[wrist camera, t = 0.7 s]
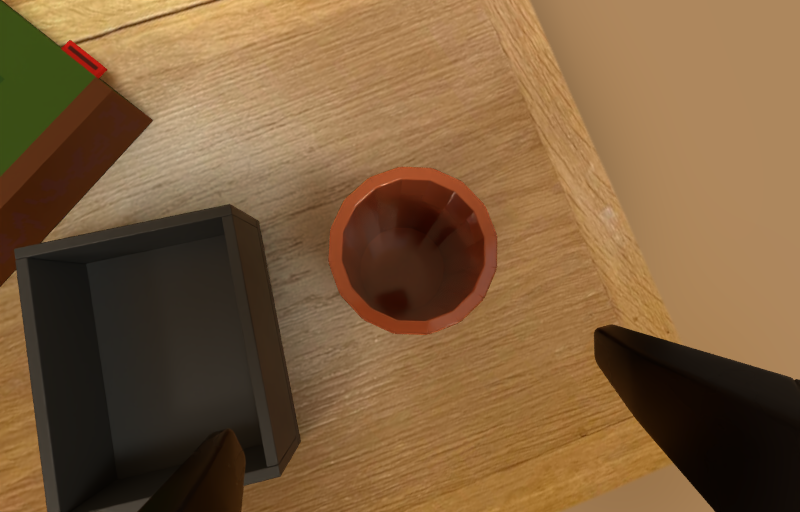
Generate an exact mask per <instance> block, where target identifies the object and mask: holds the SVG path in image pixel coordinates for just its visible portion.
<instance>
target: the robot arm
mask: <svg viewBox="0 0 800 512" xmlns="http://www.w3.org/2000/svg"><path fill="white" fill-rule="evenodd" d="M594 354H595V360H596V362H597V364H598V366H599V367H600V369H601V370H602V372H603V373H604V375H605V376H606V377H607V379H608V380H609V382H610V383H611V385H612V386H613V387H614V389H615V390H616V392H617V393H618V395H619V396H620V397H621V399H622V400H623V402H624V403H625V404H626V406H627V407H628V409H629V410H630V411H631V413H632V414H633V416H634V417H635V418H636V419H637V421H638V422H639V423H640V424H641V426H642V427H643V428H644V429H645V430H646V431H647V433H648V434H649V435H650V436H651V437H652V438H653V440H654V441H655V442H656V443H657V444H658V445H659V447H660V448H661V449H662V450H663V451H664V452H665V454H666V455H667V456H668V457H669V458H670V459H671V461H672V462H673V463H674V464H675V465H676V466H677V468H678V469H679V470H680V471H681V472H682V473H683V475H684V476H685V477H686V478H687V479H688V480H689V482H691V484H692V485H693V486H694V487H695V489H696V490H697V491H698V492H699V493H700V494H701V495H702V497H703V498H704V499H705V500H706V501H707V503H708V504H709V505H710V506H711V507H712V508H713V509H714V511H715V512H800V380H798V379H796V380H793V378H791V377H788V376H785V375H781V374H778V373H774V372H771V371H767V370H764V369H761V368H757V367H754V366H751V365H747V364H744V363H741V362H737V361H734V360H731V359H727V358H723V357H720V356H717V355H714V354H710V353H707V352H703V351H700V350H697V349H693V348H690V347H687V346H683V345H680V344H677V343H673V342H670V341H666V340H663V339H660V338H656V337H653V336H650V335H646V334H643V333H640V332H636V331H633V330H629V329H626V328H623V327H619V326H616V325H607V326H603V327H599V328H597V329H596V330H595V332H594ZM245 464H246V461H245V454H244V451H243V449H242V447H241V445H240V443H239V441H238V439H237V437H236V435H235V433H234V432H233V430H232V429H229V428H227V429H223V430H220V431H216V432H213V433H211V434H210V435H209V436H208V437H207V438H206V439H205V441H204V442H203V443H202V444H201V445H200V446H199V447H198V448H197V449H196V450H195V451H194V452H193V453H192V454H191V455H190V456H189V457H188V458H187V460H186V461H185V462H184V463H183V464H182V465H181V466H180V467H179V468H178V469H177V470H176V471H175V472H174V473H173V474H172V475H171V476H170V478H169V479H168V480H167V481H166V482H165V483H164V484H163V485H162V486H161V487H160V488H159V489H158V490H157V491H156V492H155V493H154V494H153V496H152V497H151V498H150V499H149V500H148V501H147V502H146V503H145V504H144V505H143V506H142V507H141V508H140V509H139V510H138V511H137V512H241V508H242V497H243V486H244V475H245Z"/></svg>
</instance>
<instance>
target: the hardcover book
mask: <svg viewBox="0 0 800 512" xmlns="http://www.w3.org/2000/svg"><path fill="white" fill-rule="evenodd" d="M106 71H107V69H106V68H105V67H104V66H103V65H101V64H100V63H99V62H98V61H96V60H95V59H94V58H93V57H91V56H90V55H89V54H87V53H86V52H85V51H84V50H82V49H81V48H80V47H79V46H77V45H76V44H75V43H74V42H72V41H71V40H69V41H68V42H67V43H66V44H65V45H64V46H63V47H62V48H61V47H60V46H59V45H57V44H56V43H55V42H53V41H52V40H51V39H50V38H48V37H47V36H46V35H45V34H43V33H42V32H41V31H40V30H38V29H37V28H36V27H35V26H33V25H32V24H31V23H30V22H28V21H27V20H26V19H24V18H23V17H22V16H21V15H19V14H18V13H17V12H16V11H14V10H13V9H12V8H11V7H9V6H8V5H7V4H6V3H4V2H3V1H2V0H0V286H1V285H2V284H3V283H4V282H5V281H6V279H7V278H8V277H9V276H10V275H11V274H12V273H13V272H14V271H15V270H16V262H15V260H17V259H15V254H14V249H15V248H20V247H25V246H30V245H34V244H39V243H40V242H41V241H42V240H43V239H44V238H45V237H46V236H47V235H48V234H49V233H50V232H51V231H52V229H53V228H54V227H55V226H56V225H57V224H58V223H59V222H60V221H61V220H62V219H63V217H64V216H65V215H66V214H67V213H68V212H69V211H70V210H71V209H72V208H73V207H74V206H75V204H76V203H77V202H78V201H79V200H80V199H81V198H82V197H83V196H84V195H85V194H86V192H87V191H88V190H89V189H90V188H91V187H92V186H93V185H94V184H95V183H96V182H97V180H98V179H99V178H100V177H101V176H102V175H103V174H104V173H105V172H106V171H107V170H108V169H109V167H110V166H111V165H112V164H113V163H114V162H115V161H116V160H117V159H118V158H119V157H120V155H121V154H122V153H123V152H124V151H125V150H126V149H127V148H128V147H129V146H130V145H131V144H132V142H133V141H134V140H135V139H136V138H137V137H138V136H139V135H140V134H141V133H142V132H143V130H144V129H145V128H146V127H147V126H148V125H149V124H150V123H151V122H152V121H153V120H152V119H151V118H149V117H148V116H147V115H146V114H144V113H143V112H142V111H141V110H139V109H138V108H137V107H135V106H134V105H133V104H132V103H130V102H129V101H128V100H127V99H125V98H124V97H123V96H122V95H120V94H119V93H118V92H117V91H115V90H114V89H113V88H112V87H110V86H109V85H108V84H106V83H105V82H104V81H103V80H101V79H100V77H101V76H102V75H103V74H104V73H105V72H106Z"/></svg>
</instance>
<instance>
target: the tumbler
mask: <svg viewBox="0 0 800 512" xmlns="http://www.w3.org/2000/svg"><path fill="white" fill-rule="evenodd" d="M496 235H497V234H496V231H495V229H494V226H493V224H492V221H491V219H490V216H489V214H488V212H487V209H486V207H485V206H484V204H483V203H482V202H481V200H480V199H479V198H478V197H477V196H476V195H475V194H474V193H473V192H472V191H471V190H470V189H469V188H468V187H467V186H466V185H465V184H464V183H463V182H461V181H460V180H458V179H456V178H453V177H451V176H449V175H447V174H445V173H442V172H440V171H438V170H436V169H432V168H421V167H397V168H394V169H392V170H389V171H386V172H383V173H380V174H377V175H375V176H372V177H370V178H368V179H367V180H366V181H364V182H363V183H362V184H361V185H360V186H359V187H358V188H357V189H355V190H354V191H353V192H352V193H351V194H350V195H349V196H348V197H346V199H345V200H344V201H343V203H342V205H341V207H340V209H339V211H338V213H337V216H336V218H335V220H334V222H333V224H332V226H331V230H330V239H329V258H328V261H329V266H330V269H331V272H332V274H333V277H334V280H335V283H336V285H337V288H338V291H339V293H340V295H341V296H342V297H343V299H344V300H345V301H346V302H347V303H348V304H349V305H350V306H351V307H352V308H353V309H354V310H355V312H356V313H357V314H358V315H359V316H360V317H361V318H362V319H364V320H365V321H367V322H369V323H371V324H374V325H376V326H378V327H380V328H382V329H384V330H387V331H389V332H391V333H395V334H415V335H427V334H432V333H434V332H437V331H440V330H442V329H445V328H447V327H450V326H452V325H455V324H458V323H459V322H461V321H462V320H463V319H464V318H465V317H466V316H467V315H468V314H469V313H470V312H471V311H472V310H473V309H474V308H475V307H477V306H478V305H479V304H480V303H481V302H482V301H483V299H484V298H485V296H486V293H487V291H488V289H489V286H490V284H491V282H492V279H493V277H494V274H495V272H496V268H497V236H496Z"/></svg>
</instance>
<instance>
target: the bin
mask: <svg viewBox="0 0 800 512" xmlns="http://www.w3.org/2000/svg"><path fill="white" fill-rule="evenodd" d="M14 254H15V259H17V260H15V262H16V270H17V278H18V286H19V294H20V301H21V309H22V317H23V325H24V333H25V341H26V348H27V356H28V364H29V372H30V380H31V388H32V395H33V403H34V411H35V419H36V427H37V435H38V442H39V450H40V458H41V466H42V474H43V482H44V489H45V497H46V505H47V512H137V511H138V510H139V509H140V508H141V507H142V506H143V505H144V504H145V503H146V502H147V501H148V500H149V499H150V498H151V497H152V496H153V494H154V493H155V492H156V491H157V490H158V489H159V488H160V487H161V486H162V485H163V484H164V483H165V482H166V481H167V480H168V479H169V478H170V476H171V475H172V474H173V473H174V472H175V471H176V470H177V469H178V468H179V467H180V466H181V465H182V464H183V463H184V462H185V461H186V460H187V458H188V457H189V456H190V455H191V454H192V453H193V452H194V451H195V450H196V449H197V448H198V447H199V446H200V445H201V444H202V443H203V442H204V441H205V439H206V438H207V437H208V436H209V435H210V434H211V433H213V432H216V431H220V430H223V429H227V428H229V429H232V430H233V432H234V433H235V435H236V437H237V439H238V441H239V443H240V445H241V447H242V449H243V451H244V454H245V461H246V464H245V475H244V486H245V485H249V484H253V483H257V482H261V481H265V480H269V479H273V478H277V477H280V476H281V475H282V473H283V471H284V470H285V468H286V466H287V464H288V463H289V461H290V459H291V458H292V456H293V454H294V453H295V451H296V449H297V447H298V445H299V444H300V442H301V441H300V435H299V430H298V425H297V420H296V414H295V409H294V404H293V399H292V393H291V388H290V383H289V378H288V372H287V367H286V362H285V357H284V352H283V346H282V341H281V336H280V331H279V325H278V320H277V315H276V310H275V304H274V299H273V294H272V289H271V284H270V278H269V273H268V268H267V263H266V257H265V252H264V247H263V242H262V236H261V231H260V226H259V221H258V220H256V219H254V218H253V217H251V216H249V215H247V214H246V213H244V212H242V211H241V210H239V209H237V208H236V207H234V206H232V205H230V204H229V205H224V206H219V207H214V208H209V209H204V210H200V211H195V212H190V213H185V214H180V215H175V216H170V217H166V218H161V219H156V220H151V221H146V222H141V223H136V224H132V225H127V226H122V227H117V228H112V229H107V230H102V231H98V232H93V233H88V234H83V235H78V236H73V237H68V238H64V239H59V240H54V241H49V242H44V243H39V244H34V245H30V246H25V247H20V248H15V249H14Z"/></svg>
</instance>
